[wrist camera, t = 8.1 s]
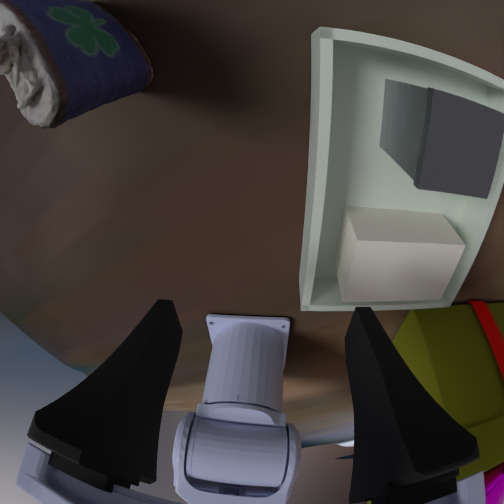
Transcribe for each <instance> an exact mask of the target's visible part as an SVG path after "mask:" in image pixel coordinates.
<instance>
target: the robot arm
mask: <svg viewBox="0 0 504 504" xmlns="http://www.w3.org/2000/svg"><path fill="white" fill-rule="evenodd" d="M206 320H207V325H208V329H209V333H210V337H211V341H212V345H213V347H212V352H211V357H210V362H209V367H208V372H207V378H206V383H205V388H204V393H203V398H202V404H200V403H199V404H198V406H197V411H196V413H195V412H189V413H188V414H187V415H185V416H183V417H182V418H181V420H180V422H179V425H178V428H177V432H176V436H175V441H174V448H173V468H174V486H175V487H176V492H177V494H178V495H179V496H181V497H182V498H183V499H184V500H185V501H186V502H188V503H189V504H286V503H287V499H288V498H289V497H290V493H291V490H292V486H293V483H294V481H295V480H296V477H297V475H298V471H299V467H300V460H301V438H300V434H299V431H298V430H297V429H296V428H295V426H294V425H293V424H292V423H286V413H282V398H283V368H284V367H285V361H286V353H287V345H288V337H289V328H290V319H288V318H285V317H255V316H234V315H217V314H209V315H207V318H206ZM182 332H183V331H182V328H181V325H180V322H179V319H178V316H177V313H176V310H175V307H174V304H173V301H172V300H161V299H159V300H157V302H156V303H155V304H154V305H153V306H152V308H151V309H150V310H149V311H148V313H147V314H146V315H145V316H144V318H143V319H142V320H141V321H140V322H139V324H138V325H137V326H136V327H135V328H134V330H133V331H132V332H131V333H130V334H129V336H128V337H127V338H126V339H125V340H124V341H123V342H122V344H121V345H120V346H119V347H118V348H117V349H116V350H115V351H114V352H113V353H112V354H111V355H110V357H109V358H108V359H107V360H106V361H105V362H104V363H103V364H101V365H100V366H99V367H98V368H97V369H96V370H95V371H94V372H93V373H92V374H90V375H89V376H88V377H87V378H86V379H85V380H84V381H82V382H81V383H80V384H78V385H77V386H76V387H74V388H73V389H72V390H70V391H69V392H67V393H66V394H65V395H63V396H62V397H60V398H59V399H57V400H56V401H54V402H52V403H50V404H49V405H47V406H45V407H43V408H42V409H40V410H38V411H36V413H35V415H34V418H33V420H32V423H31V426H30V428H29V431H28V434H27V436H28V437H29V438H30V439H32V440H33V441H35V442H37V443H39V444H40V445H42V446H44V447H46V448H47V449H49V450H51V451H52V452H51V454H48V453H46V452H45V451H43V450H41V449H40V448H38V447H36V446H34V445H32V444H31V443H27V446H26V449H25V452H24V455H23V458H22V462H21V465H20V469H19V473H18V477H17V481H16V485H17V486H18V487H20V488H21V489H23V490H24V491H25V492H27V493H28V494H29V495H31V496H32V497H33V498H35V499H36V500H37V501H39V502H40V503H42V504H183V503H179V502H174V501H170V500H166V499H162V498H158V497H154V496H150V495H147V494H144V493H140V492H137V491H134V490H131V489H130V486H131V484H133V485H136V486H139V482H144V483H148V484H151V483H153V482H155V481H156V469H157V451H158V440H159V431H160V424H161V418H162V412H163V406H164V402H165V398H166V394H167V391H168V387H169V384H170V381H171V377H172V374H173V371H174V368H175V364H176V361H177V358H178V354H179V349H180V344H181V338H182ZM345 351H346V363H347V369H348V375H349V382H350V388H351V394H352V401H353V409H354V458H353V472H352V480H351V487H350V493H349V504H351V503H358V502H365V501H371V504H486V495H485V483H484V474H483V471H480V472H477V473H475V474H472V475H470V476H468V477H466V478H463V479H461V480H457V481H456V477H457V476H459V474H460V473H459V468H461V467H463V466H465V465H468V464H470V463H472V462H474V461H476V460H478V459H479V457H480V454H479V447H478V442H477V438H476V437H475V436H474V435H472V434H471V433H470V432H469V431H467V430H466V429H465V428H464V427H462V426H461V425H460V424H459V423H458V422H456V421H455V420H454V419H453V418H452V417H451V416H450V415H449V414H448V413H447V412H446V411H445V410H444V409H443V408H442V407H441V406H440V405H439V404H438V403H437V402H436V401H435V400H434V399H433V397H432V396H431V395H430V394H429V393H428V392H427V390H426V389H425V388H424V387H423V386H422V384H421V383H420V382H419V381H418V379H417V378H416V377H415V375H414V374H413V373H412V371H411V370H410V368H409V367H408V366H407V364H406V363H405V361H404V360H403V358H402V357H401V355H400V354H399V352H398V351H397V349H396V348H395V346H394V345H393V343H392V342H391V340H390V338H389V337H388V335H387V333H386V332H385V330H384V328H383V327H382V325H381V323H380V322H379V320H378V318H377V317H376V315H375V313H374V312H373V310H372V308H371V307H355V310H354V313H353V316H352V319H351V322H350V325H349V328H348V330H347V333H346V336H345Z"/></svg>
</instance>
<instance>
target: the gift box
mask: <svg viewBox="0 0 504 504" xmlns="http://www.w3.org/2000/svg"><path fill="white" fill-rule="evenodd" d="M392 343H393V345H394V346H395V348H396V349H397V351H398V352H399V354H400V355H401V357H402V358H403V360H404V361H405V363H406V364H407V366H408V367H409V368H410V370H411V371H412V373H413V374H414V375H415V377H416V378H417V379H418V381H419V382H420V383H421V384H422V386H423V387H424V388H425V389H426V390H427V392H428V393H429V394H430V395H431V396H432V397H433V399H434V400H435V401H436V402H437V403H438V404H439V405H440V406H441V407H442V408H443V409H444V410H445V411H446V412H447V413H448V414H449V415H450V416H451V417H452V418H453V419H454V420H455V421H456V422H458V423H459V424H460V425H461V426H462V427H464V428H465V429H466V430H467V431H469V432H470V433H471V434H472V435H474V436H475V437H476V438H477V442H478V447H479V454H480V457H479V459H478V460H476V461H474V462H472V463H470V464H468V465H465V466H463V467H461V468H459V473H460V474H459V476H457V477H456V481H457V480H461V479H463V478H466V477H468V476H470V475H472V474H475V473H477V472H480V471H483V474H484V483H485V495H486V504H503V502H504V302H500V303H485V302H484V301H480V300H477V301H468V302H467V303H466V304H465V305H451V306H450V307H442V308H426V309H410V311H409V313H408V314H407V316H406V318H405V320H404V322H403V323H402V325H401V327H400V329H399V330H398V332H397V334H396V335H395V337H394V339H393V340H392ZM488 469H489V470H488ZM486 470H487V471H486ZM484 471H485V472H484ZM367 502H368V504H371V501H367Z"/></svg>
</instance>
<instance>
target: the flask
mask: <svg viewBox="0 0 504 504" xmlns="http://www.w3.org/2000/svg"><path fill="white" fill-rule="evenodd" d="M0 75H5V76H6V77H7V79H8V81H9V82H10V86H11V87H12V88H13V90H14V92H15V95H16V99H17V101H18V104H17V108H19V109H20V110H21V113H22V114H23V116H24V117H26V119H27V120H28V122H29V123H30V124H32V125H33V126H39V127H41V128H55V127H57V126H58V125H61V124H62V123H64V122H65V121H67V120H69V119H72V118H75V117H77V116H79V115H81V114H83V113H85V112H87V111H90V110H93V109H95V108H97V107H99V106H101V105H103V104H107V103H110V102H113V101H116V100H118V99H120V98H123V97H126V96H129V95H132V94H135V93H141V91H142V90H143V89H144V88H146V87H147V86H148V85H150V82H151V80H152V78H153V68H152V67H151V64H150V61H149V58H148V57H147V55H146V54H145V52H144V50H143V48H142V46H141V44H139V42H138V41H137V39H136V38H135V36H134V35H133V34H132V33H131V32H130V30H129V29H128V28H127V27H125V26H124V25H123V24H122V23H121V22H120V21H119V20H118V19H116V18H115V17H114V16H113V15H111V13H110V12H109V11H107V10H106V9H104V8H103V7H102V6H101V5H100V6H99V5H98V4H95V3H93V2H89V1H77V0H0Z"/></svg>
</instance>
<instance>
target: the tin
mask: <svg viewBox="0 0 504 504" xmlns="http://www.w3.org/2000/svg"><path fill="white" fill-rule="evenodd" d="M503 134H504V113H502V112H499V111H497V110H495V109H492V108H490V107H487V106H485V105H482V104H480V103H477V102H474V101H471V100H469V99H466V98H463V97H460V96H457V95H454V94H451V93H447V92H444V91H441V90H437V89H434V88H430V87H428V88H425V87H421V86H417V85H413V84H409V83H404V82H400V81H395V80H390V79H385V88H384V102H383V114H382V125H381V134H380V143H379V146H380V147H381V148H382V149H383V150H384V151H385V152H386V153H387V154H388V155H389V156H390V157H391V158H392V159H393V160H394V161H395V162H396V163H397V164H398V165H399V166H400V167H401V168H402V169H403V170H404V171H405V172H406V173H407V174H408V175H409V176H410V177H411V178H412V179H413V180H414V183H413V185H414V186H415V187H416V188H417V189H421V190H429V191H437V192H444V193H452V194H458V195H465V196H471V197H477V198H483V199H487V198H488V195H489V192H490V188H491V185H492V181H493V178H494V174H495V170H496V166H497V162H498V158H499V153H500V149H501V144H502V139H503Z"/></svg>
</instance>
